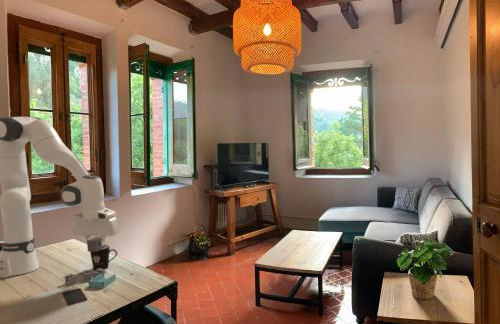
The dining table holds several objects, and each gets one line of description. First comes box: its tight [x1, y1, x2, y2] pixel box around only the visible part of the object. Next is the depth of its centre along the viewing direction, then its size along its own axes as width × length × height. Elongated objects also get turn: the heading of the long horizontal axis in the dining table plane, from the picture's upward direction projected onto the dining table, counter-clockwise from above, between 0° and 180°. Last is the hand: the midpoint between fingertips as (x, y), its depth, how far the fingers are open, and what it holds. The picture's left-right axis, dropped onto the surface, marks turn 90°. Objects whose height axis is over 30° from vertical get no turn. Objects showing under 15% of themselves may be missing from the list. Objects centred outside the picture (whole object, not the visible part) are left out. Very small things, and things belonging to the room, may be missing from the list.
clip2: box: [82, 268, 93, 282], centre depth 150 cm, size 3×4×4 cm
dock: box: [88, 273, 117, 289], centre depth 145 cm, size 7×8×2 cm
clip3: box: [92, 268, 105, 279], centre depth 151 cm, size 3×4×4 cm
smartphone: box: [61, 287, 88, 307], centre depth 134 cm, size 7×1×14 cm
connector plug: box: [86, 236, 108, 252], centre depth 152 cm, size 4×10×4 cm, turn 168°
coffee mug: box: [89, 243, 118, 272], centre depth 162 cm, size 12×9×10 cm
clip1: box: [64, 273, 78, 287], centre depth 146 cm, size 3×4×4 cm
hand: (96, 245), depth 150 cm, fingers closed on connector plug, 4 cm apart
